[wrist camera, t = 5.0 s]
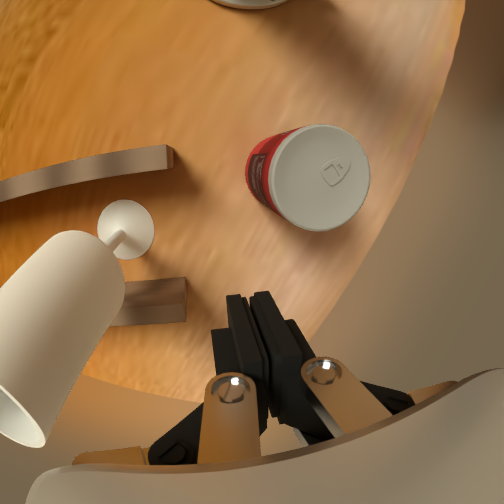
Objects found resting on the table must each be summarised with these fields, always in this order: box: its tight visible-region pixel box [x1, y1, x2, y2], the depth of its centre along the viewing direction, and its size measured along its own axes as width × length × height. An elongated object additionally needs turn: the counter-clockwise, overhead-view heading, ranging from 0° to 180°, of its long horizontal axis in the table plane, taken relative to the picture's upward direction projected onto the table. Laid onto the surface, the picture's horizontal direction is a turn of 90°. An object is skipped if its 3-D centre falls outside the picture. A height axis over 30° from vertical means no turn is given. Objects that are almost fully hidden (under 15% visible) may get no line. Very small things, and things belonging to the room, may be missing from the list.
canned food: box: [245, 124, 370, 231], centre depth 23 cm, size 8×8×11 cm
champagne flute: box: [0, 199, 154, 448], centre depth 16 cm, size 7×7×24 cm
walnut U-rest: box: [0, 145, 187, 326], centre depth 22 cm, size 38×16×6 cm, turn 92°
